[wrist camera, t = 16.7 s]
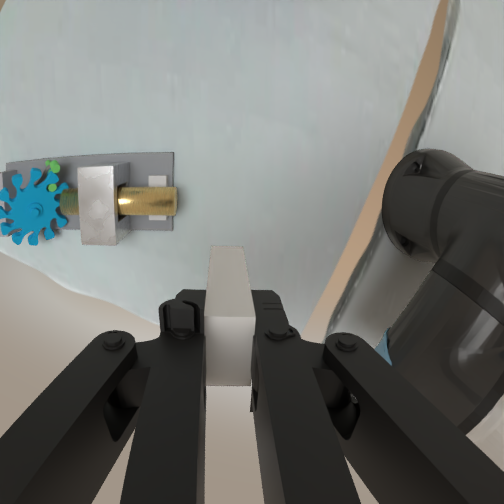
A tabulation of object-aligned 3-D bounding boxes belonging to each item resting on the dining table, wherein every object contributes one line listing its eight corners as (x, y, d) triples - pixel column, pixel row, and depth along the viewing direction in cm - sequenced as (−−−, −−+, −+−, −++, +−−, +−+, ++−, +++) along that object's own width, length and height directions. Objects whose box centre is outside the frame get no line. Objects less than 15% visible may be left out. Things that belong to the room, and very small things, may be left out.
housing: (173, 152, 35) (167, 153, 31) (173, 229, 38) (167, 239, 34) (8, 162, 32) (-9, 166, 29) (13, 228, 35) (-3, 236, 32)
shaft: (177, 185, 34) (173, 189, 31) (177, 212, 35) (173, 218, 32) (70, 186, 33) (58, 190, 30) (71, 212, 34) (60, 217, 31)
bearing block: (131, 161, 34) (113, 165, 28) (132, 228, 37) (116, 245, 31) (100, 162, 34) (77, 167, 28) (102, 228, 37) (81, 244, 31)
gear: (47, 258, 35) (-18, 233, 26) (38, 232, 38) (-19, 207, 29) (94, 187, 34) (29, 149, 26) (81, 167, 37) (24, 131, 28)
